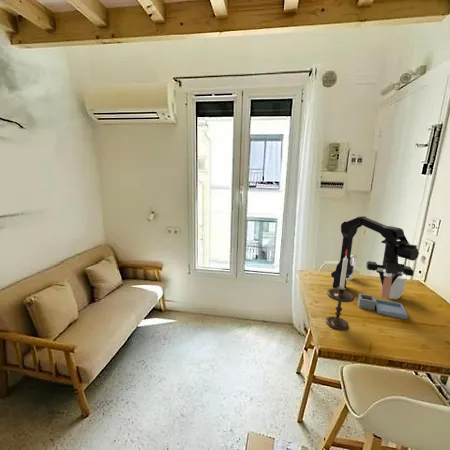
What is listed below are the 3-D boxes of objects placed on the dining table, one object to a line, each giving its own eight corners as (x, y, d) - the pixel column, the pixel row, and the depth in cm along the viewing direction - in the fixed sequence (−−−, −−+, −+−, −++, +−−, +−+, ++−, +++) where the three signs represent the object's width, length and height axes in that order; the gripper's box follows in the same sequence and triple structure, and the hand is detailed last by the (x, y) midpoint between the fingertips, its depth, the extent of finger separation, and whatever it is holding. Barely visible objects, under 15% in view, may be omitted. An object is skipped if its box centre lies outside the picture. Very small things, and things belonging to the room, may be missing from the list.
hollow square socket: (358, 308, 132) (360, 299, 131) (357, 302, 138) (358, 293, 137) (373, 311, 130) (375, 301, 129) (371, 304, 136) (373, 296, 135)
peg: (381, 297, 129) (384, 277, 127) (380, 294, 131) (383, 275, 130) (388, 298, 127) (392, 279, 125) (387, 295, 130) (390, 276, 128)
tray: (377, 314, 127) (378, 309, 126) (373, 303, 138) (374, 298, 137) (406, 320, 123) (407, 315, 122) (400, 308, 134) (401, 303, 133)
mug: (386, 289, 155) (389, 268, 153) (407, 296, 147) (412, 274, 144) (375, 295, 146) (379, 273, 143) (398, 304, 138) (402, 280, 135)
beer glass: (354, 280, 166) (358, 257, 163) (343, 279, 167) (346, 256, 164) (352, 276, 172) (355, 254, 169) (340, 275, 174) (343, 253, 171)
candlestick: (344, 334, 110) (356, 254, 103) (319, 323, 117) (328, 248, 110) (353, 324, 118) (365, 249, 111) (329, 314, 125) (338, 243, 118)
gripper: (371, 256, 121) (366, 287, 124) (419, 262, 114) (413, 295, 118) (368, 249, 131) (364, 279, 134) (412, 255, 125) (407, 286, 128)
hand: (386, 285), depth 128 cm, fingers closed on peg, 3 cm apart
